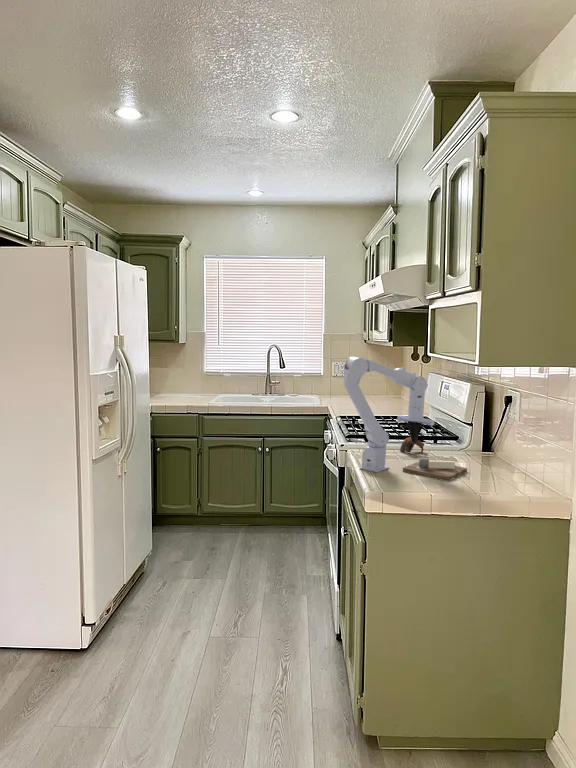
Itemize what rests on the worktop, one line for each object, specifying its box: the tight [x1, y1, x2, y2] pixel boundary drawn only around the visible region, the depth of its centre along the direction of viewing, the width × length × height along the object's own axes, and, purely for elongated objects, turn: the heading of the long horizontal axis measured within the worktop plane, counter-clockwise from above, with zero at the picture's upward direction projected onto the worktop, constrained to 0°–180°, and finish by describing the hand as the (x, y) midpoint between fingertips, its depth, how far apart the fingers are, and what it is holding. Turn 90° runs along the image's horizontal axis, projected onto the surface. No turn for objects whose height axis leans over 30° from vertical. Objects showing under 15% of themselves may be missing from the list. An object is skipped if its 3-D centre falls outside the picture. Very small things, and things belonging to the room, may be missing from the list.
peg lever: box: [418, 457, 456, 468], centre depth 215 cm, size 13×4×3 cm, turn 92°
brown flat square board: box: [402, 461, 468, 482], centre depth 216 cm, size 18×18×2 cm
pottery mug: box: [399, 435, 425, 454], centre depth 247 cm, size 12×10×8 cm
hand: (414, 441), depth 220 cm, fingers closed
